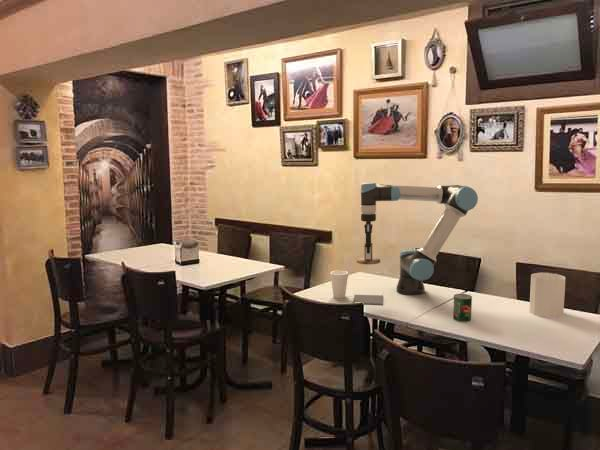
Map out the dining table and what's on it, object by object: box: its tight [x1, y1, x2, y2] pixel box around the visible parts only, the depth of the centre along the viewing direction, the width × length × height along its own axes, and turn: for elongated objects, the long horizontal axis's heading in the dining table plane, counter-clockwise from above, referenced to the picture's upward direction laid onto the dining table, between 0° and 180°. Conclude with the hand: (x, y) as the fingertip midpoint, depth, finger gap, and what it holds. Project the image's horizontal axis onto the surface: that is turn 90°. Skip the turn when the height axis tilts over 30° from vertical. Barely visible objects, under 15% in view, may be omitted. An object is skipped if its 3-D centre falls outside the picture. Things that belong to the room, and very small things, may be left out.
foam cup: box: [329, 270, 349, 299], centre depth 271 cm, size 10×9×13 cm
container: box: [529, 272, 566, 319], centre depth 238 cm, size 14×14×18 cm
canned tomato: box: [452, 293, 473, 323], centre depth 232 cm, size 8×8×11 cm
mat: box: [352, 294, 384, 306], centre depth 264 cm, size 15×15×1 cm
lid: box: [356, 242, 381, 265], centre depth 261 cm, size 12×12×10 cm
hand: (368, 258), depth 261 cm, fingers closed on lid, 4 cm apart
